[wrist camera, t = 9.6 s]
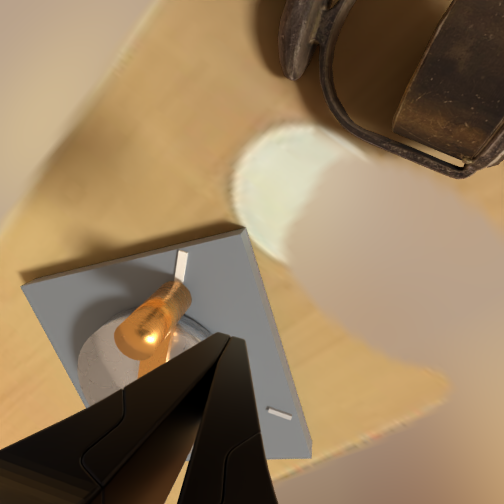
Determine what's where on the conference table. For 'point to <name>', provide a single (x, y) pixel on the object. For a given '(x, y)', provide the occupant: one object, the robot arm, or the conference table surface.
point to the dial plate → (201, 311)
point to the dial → (138, 342)
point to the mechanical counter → (420, 81)
